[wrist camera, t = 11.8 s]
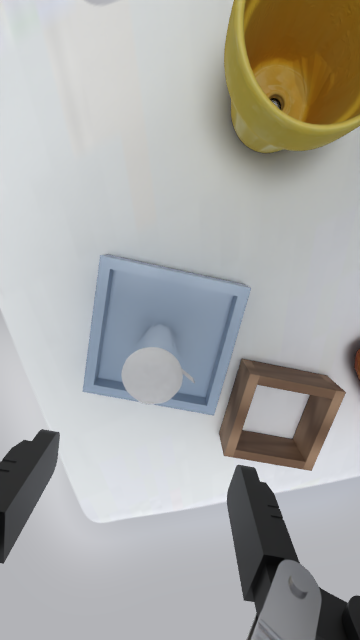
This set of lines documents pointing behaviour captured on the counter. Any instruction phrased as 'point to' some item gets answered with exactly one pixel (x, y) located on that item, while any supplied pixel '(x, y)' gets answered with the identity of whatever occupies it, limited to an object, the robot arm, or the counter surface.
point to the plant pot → (293, 72)
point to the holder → (309, 429)
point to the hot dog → (357, 363)
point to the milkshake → (154, 367)
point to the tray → (171, 311)
